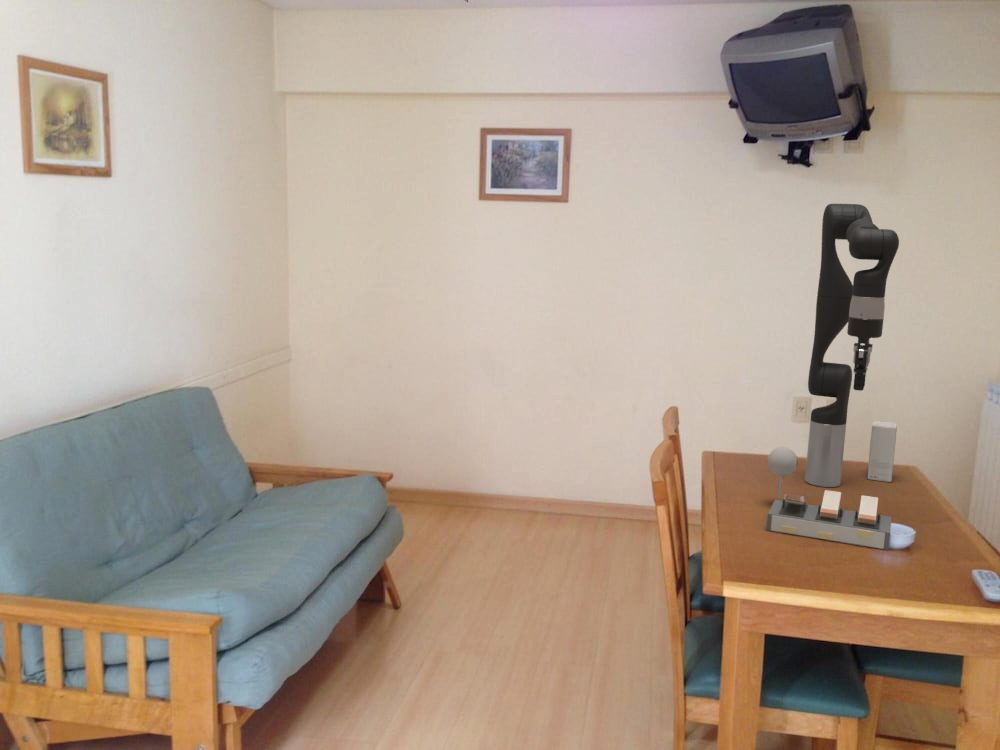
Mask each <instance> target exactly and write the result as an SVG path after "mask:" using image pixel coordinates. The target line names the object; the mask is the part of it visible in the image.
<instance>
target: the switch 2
mask: <svg viewBox="0 0 1000 750" xmlns="http://www.w3.org/2000/svg"><path fill="white" fill-rule="evenodd" d="M841 497H842V492H841V491H837V490H835V491H834V490H827V489H825V490H824V492H823V498H822V503H821V511H820V516H823V517H830V518H836V519H837V515H838V510H839V509H840V505H841V504H840V503H841Z"/></svg>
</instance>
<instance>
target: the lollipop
mask: <svg viewBox="0 0 1000 750" xmlns="http://www.w3.org/2000/svg"><path fill="white" fill-rule="evenodd" d="M798 463H799V462H798V456H797V454H796V453H795V452H794V450H792V449H791V448H789V447H785V446H780V447H776V448H774V449H772V451H771V452H770V453H769V454H768V456H767V464H768V468H769V469H770V470H771V472H773V474H775V475H778V476H779V485H778V495H777V496H778V497H777V500H781V501H782V492H783V491H782V489H783V479H784V476H788V475H789V476H790V475H791V474H793V473H794V472H795V471H796V469H797V467H798Z"/></svg>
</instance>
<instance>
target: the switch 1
mask: <svg viewBox="0 0 1000 750" xmlns="http://www.w3.org/2000/svg"><path fill="white" fill-rule="evenodd" d="M784 499H785V501H788V502H795V503H802V504H804V502H805V497H804V496H802V495H798V494H797V495H796V494H791V493H785V494H784Z"/></svg>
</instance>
